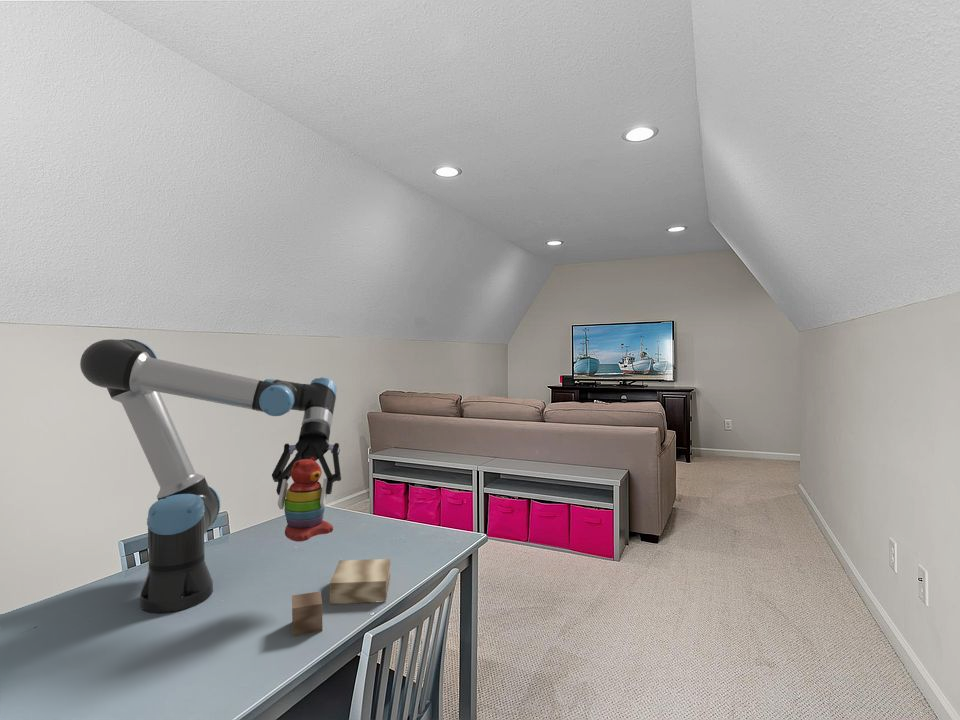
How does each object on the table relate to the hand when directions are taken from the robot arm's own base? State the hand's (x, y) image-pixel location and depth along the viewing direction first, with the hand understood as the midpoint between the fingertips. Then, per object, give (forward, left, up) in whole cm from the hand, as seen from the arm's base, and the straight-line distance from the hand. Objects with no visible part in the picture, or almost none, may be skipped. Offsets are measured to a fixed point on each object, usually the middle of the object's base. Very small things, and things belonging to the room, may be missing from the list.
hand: (301, 506), depth 124 cm
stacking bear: (0, +3, -8) cm, 8 cm away
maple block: (+13, +4, -23) cm, 27 cm away
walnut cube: (+4, -12, -23) cm, 26 cm away
